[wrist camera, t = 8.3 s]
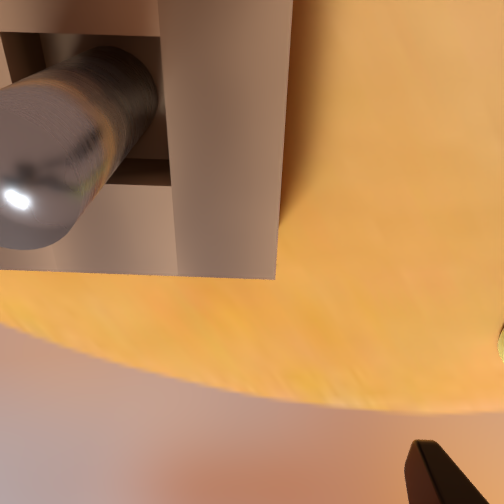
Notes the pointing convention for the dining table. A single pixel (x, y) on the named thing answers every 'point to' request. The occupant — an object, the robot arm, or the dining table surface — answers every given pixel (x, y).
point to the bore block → (173, 134)
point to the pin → (67, 140)
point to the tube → (501, 345)
